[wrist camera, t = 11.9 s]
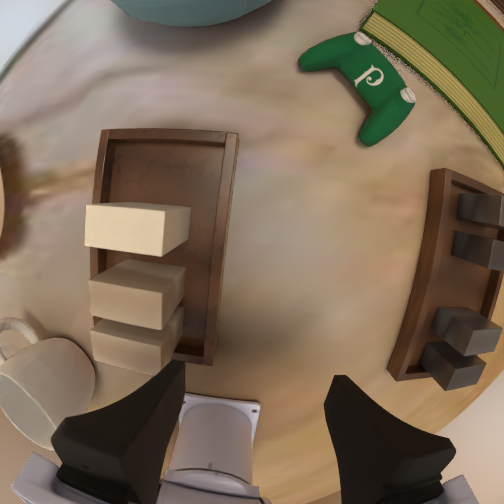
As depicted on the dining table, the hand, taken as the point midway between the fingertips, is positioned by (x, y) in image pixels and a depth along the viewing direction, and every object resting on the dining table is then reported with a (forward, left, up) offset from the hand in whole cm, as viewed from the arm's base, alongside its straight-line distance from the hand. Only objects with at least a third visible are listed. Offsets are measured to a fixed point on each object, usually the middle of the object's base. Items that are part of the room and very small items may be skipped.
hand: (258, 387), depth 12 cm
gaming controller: (+19, -6, -11) cm, 23 cm away
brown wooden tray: (+4, +8, -10) cm, 14 cm away
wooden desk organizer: (+4, -20, -10) cm, 23 cm away
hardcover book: (+30, -21, -11) cm, 38 cm away
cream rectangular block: (+6, +8, -10) cm, 14 cm away
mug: (-9, +20, -11) cm, 24 cm away
